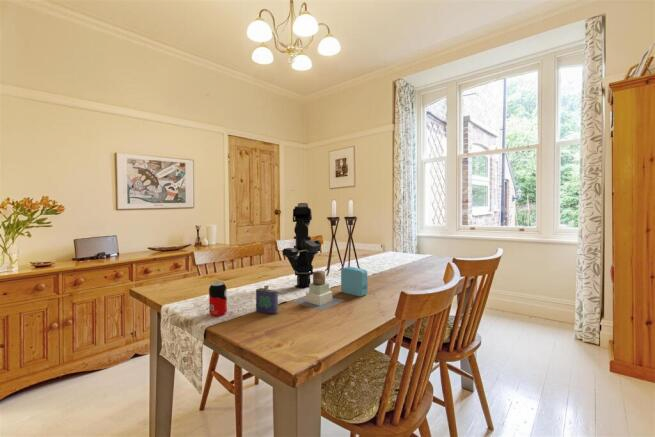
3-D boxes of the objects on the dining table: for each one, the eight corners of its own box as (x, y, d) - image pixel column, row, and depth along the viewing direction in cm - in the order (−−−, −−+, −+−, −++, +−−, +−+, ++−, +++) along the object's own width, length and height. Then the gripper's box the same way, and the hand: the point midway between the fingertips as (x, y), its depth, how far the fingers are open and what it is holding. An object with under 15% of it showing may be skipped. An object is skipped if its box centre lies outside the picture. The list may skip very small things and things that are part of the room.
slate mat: (292, 303, 130) (292, 302, 130) (317, 294, 142) (317, 293, 142) (321, 311, 120) (321, 310, 120) (345, 301, 132) (345, 300, 132)
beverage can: (217, 318, 113) (216, 286, 112) (206, 315, 116) (205, 284, 116) (230, 313, 119) (229, 282, 118) (219, 310, 122) (218, 280, 121)
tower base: (305, 301, 130) (305, 292, 130) (318, 297, 137) (318, 288, 136) (320, 305, 125) (320, 296, 125) (332, 300, 132) (332, 291, 131)
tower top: (309, 292, 130) (309, 284, 130) (318, 289, 135) (318, 281, 135) (319, 295, 127) (319, 286, 126) (329, 291, 131) (328, 283, 131)
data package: (367, 295, 140) (367, 269, 140) (362, 297, 137) (362, 271, 136) (346, 290, 148) (346, 266, 147) (340, 292, 145) (340, 267, 144)
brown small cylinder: (310, 284, 130) (310, 272, 130) (318, 281, 134) (318, 270, 134) (319, 286, 127) (319, 274, 127) (327, 283, 131) (327, 272, 131)
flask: (279, 312, 119) (278, 285, 119) (275, 314, 116) (275, 287, 116) (257, 310, 122) (257, 283, 121) (254, 312, 119) (253, 285, 118)
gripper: (300, 237, 123) (300, 275, 124) (329, 233, 138) (329, 267, 139) (281, 235, 131) (281, 271, 131) (311, 232, 145) (311, 264, 146)
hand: (302, 269), depth 137 cm, fingers open, 9 cm apart
